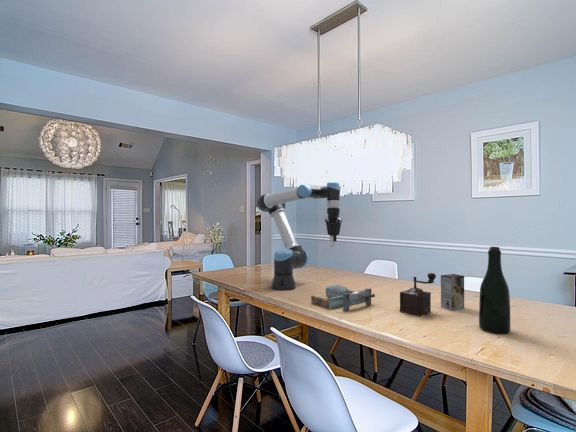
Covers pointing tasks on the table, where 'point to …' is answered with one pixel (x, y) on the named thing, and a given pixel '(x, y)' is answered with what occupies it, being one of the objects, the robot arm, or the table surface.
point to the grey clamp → (355, 296)
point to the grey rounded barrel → (335, 291)
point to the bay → (333, 301)
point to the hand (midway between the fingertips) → (333, 246)
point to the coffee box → (452, 292)
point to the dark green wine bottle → (494, 297)
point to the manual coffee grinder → (416, 299)
